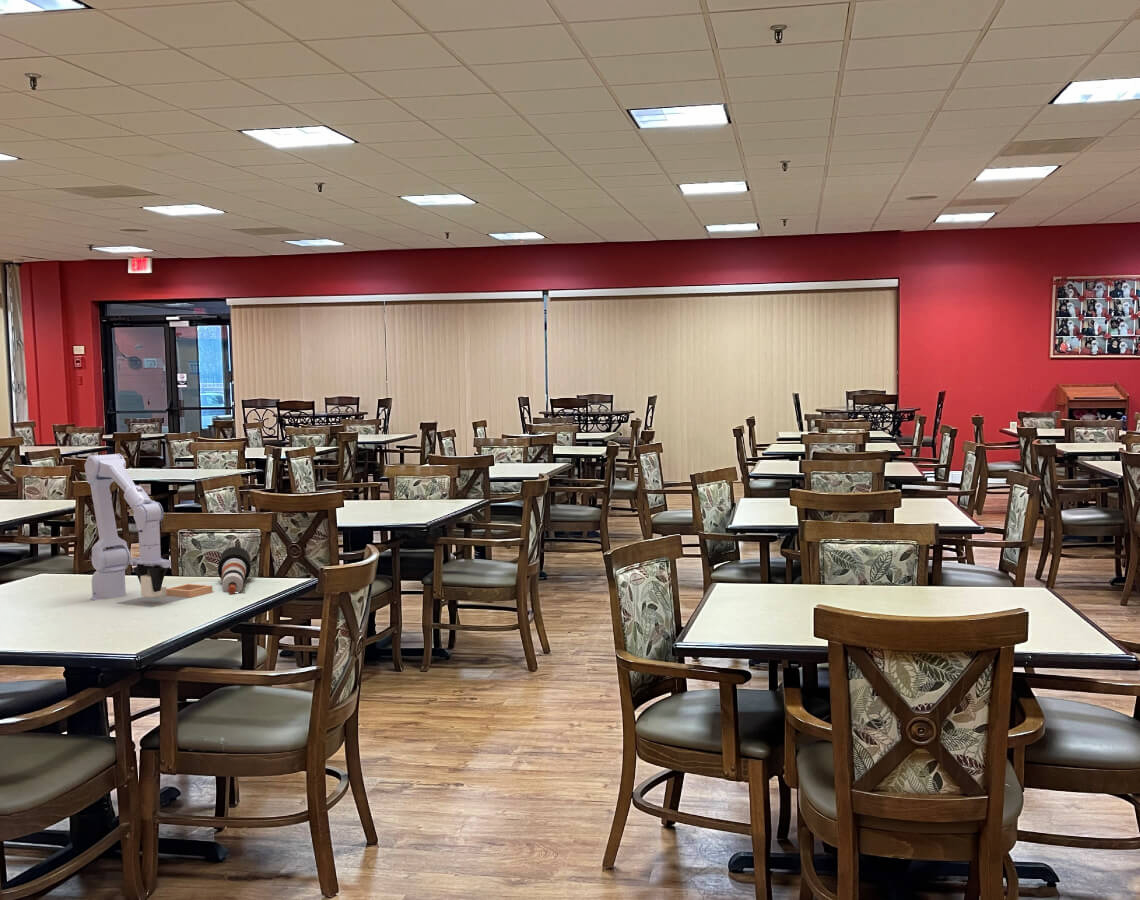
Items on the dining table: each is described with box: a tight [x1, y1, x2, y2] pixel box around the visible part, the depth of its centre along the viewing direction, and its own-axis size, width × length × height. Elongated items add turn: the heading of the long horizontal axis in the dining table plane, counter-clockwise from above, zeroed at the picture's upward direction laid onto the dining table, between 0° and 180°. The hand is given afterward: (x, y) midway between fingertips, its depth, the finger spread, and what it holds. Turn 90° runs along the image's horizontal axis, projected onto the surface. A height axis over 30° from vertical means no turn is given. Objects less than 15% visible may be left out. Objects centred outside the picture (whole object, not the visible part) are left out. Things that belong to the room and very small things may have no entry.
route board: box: [116, 593, 209, 608], centre depth 308 cm, size 15×24×1 cm, turn 154°
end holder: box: [166, 583, 214, 599], centre depth 313 cm, size 10×9×2 cm
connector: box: [140, 570, 163, 597], centre depth 300 cm, size 4×4×8 cm
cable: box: [217, 546, 252, 595], centre depth 327 cm, size 10×34×10 cm, turn 14°
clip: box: [151, 585, 167, 598], centre depth 309 cm, size 5×3×3 cm, turn 64°
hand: (151, 590), depth 300 cm, fingers closed on connector, 4 cm apart
